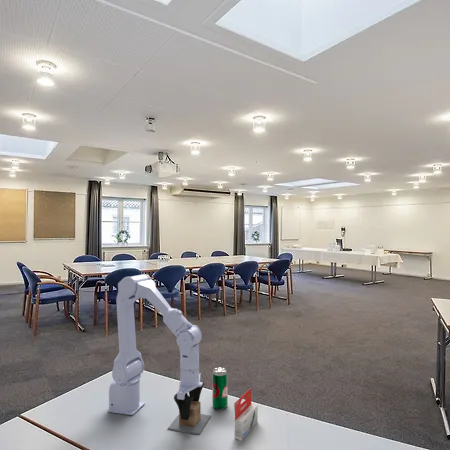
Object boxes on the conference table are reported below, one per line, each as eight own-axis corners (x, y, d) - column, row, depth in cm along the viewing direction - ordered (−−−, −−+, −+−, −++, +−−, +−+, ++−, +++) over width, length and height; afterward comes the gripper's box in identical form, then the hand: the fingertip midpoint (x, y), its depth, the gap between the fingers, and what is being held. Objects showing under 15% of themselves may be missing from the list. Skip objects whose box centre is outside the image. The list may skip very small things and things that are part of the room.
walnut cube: (179, 424, 100) (179, 407, 101) (185, 416, 105) (185, 399, 105) (194, 427, 99) (194, 409, 99) (200, 418, 104) (200, 401, 104)
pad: (167, 429, 99) (167, 428, 99) (181, 412, 108) (181, 411, 108) (199, 434, 96) (199, 433, 96) (210, 416, 106) (210, 415, 106)
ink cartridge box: (258, 422, 102) (257, 389, 103) (241, 441, 93) (241, 405, 93) (250, 420, 104) (250, 387, 104) (233, 439, 94) (233, 403, 94)
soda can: (226, 410, 109) (225, 373, 109) (210, 409, 110) (210, 372, 110) (228, 403, 114) (228, 367, 114) (214, 401, 115) (214, 366, 115)
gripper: (193, 378, 95) (193, 427, 94) (209, 360, 109) (209, 403, 108) (170, 375, 97) (170, 424, 96) (189, 358, 110) (189, 400, 110)
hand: (189, 412), depth 102 cm, fingers open, 7 cm apart
